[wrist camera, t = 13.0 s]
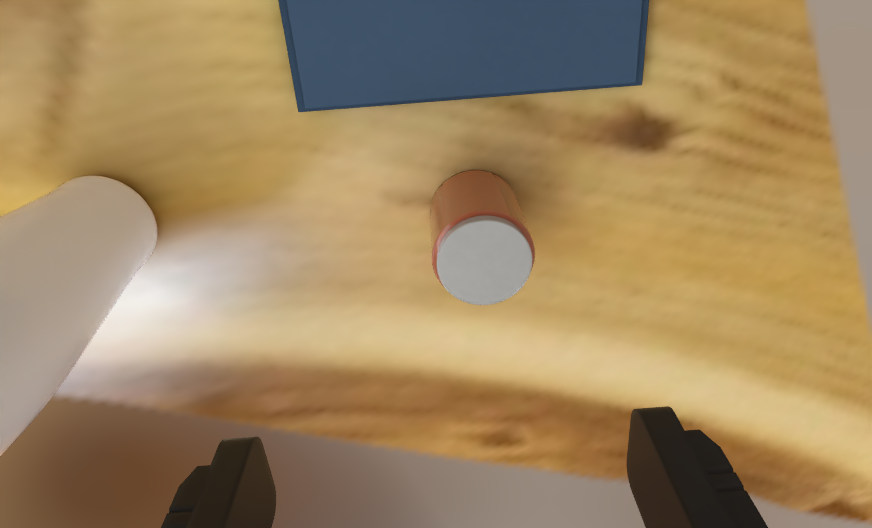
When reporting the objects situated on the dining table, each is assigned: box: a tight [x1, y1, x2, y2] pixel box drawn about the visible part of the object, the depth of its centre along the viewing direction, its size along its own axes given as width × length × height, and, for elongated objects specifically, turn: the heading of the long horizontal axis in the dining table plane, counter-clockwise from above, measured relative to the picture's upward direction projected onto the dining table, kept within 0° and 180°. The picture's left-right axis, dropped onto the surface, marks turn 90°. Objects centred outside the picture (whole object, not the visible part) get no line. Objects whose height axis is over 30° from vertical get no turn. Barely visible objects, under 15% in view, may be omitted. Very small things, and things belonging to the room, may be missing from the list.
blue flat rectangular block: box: [279, 0, 649, 112], centre depth 26 cm, size 8×16×1 cm, turn 94°
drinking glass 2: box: [0, 176, 158, 457], centre depth 25 cm, size 7×7×15 cm
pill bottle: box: [430, 170, 535, 305], centre depth 29 cm, size 5×5×6 cm
